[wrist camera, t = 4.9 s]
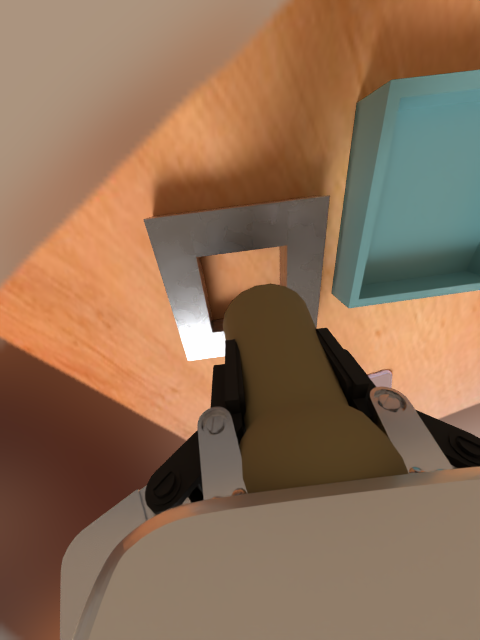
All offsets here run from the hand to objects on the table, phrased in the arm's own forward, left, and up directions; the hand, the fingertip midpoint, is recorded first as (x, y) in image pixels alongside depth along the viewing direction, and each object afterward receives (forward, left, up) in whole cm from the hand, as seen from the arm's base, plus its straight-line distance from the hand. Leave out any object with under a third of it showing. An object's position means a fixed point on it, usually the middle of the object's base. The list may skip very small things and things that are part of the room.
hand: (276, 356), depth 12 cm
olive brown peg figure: (0, 0, -4) cm, 4 cm away
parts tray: (-16, -5, -11) cm, 20 cm away
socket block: (+1, 0, -11) cm, 11 cm away
